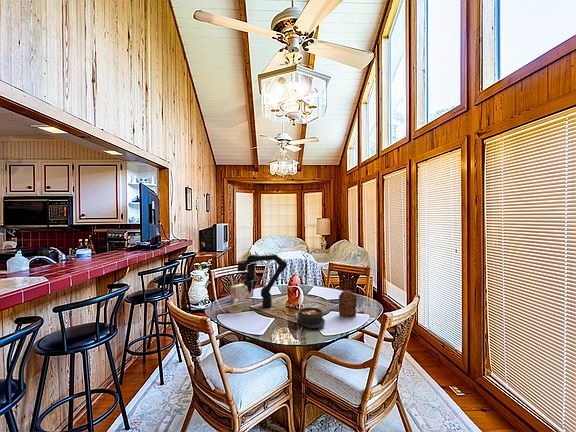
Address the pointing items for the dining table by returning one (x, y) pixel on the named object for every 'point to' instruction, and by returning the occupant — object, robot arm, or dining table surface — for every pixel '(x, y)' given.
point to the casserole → (311, 317)
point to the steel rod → (235, 302)
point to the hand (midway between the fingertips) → (251, 291)
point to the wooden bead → (235, 308)
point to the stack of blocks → (240, 292)
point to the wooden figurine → (347, 304)
